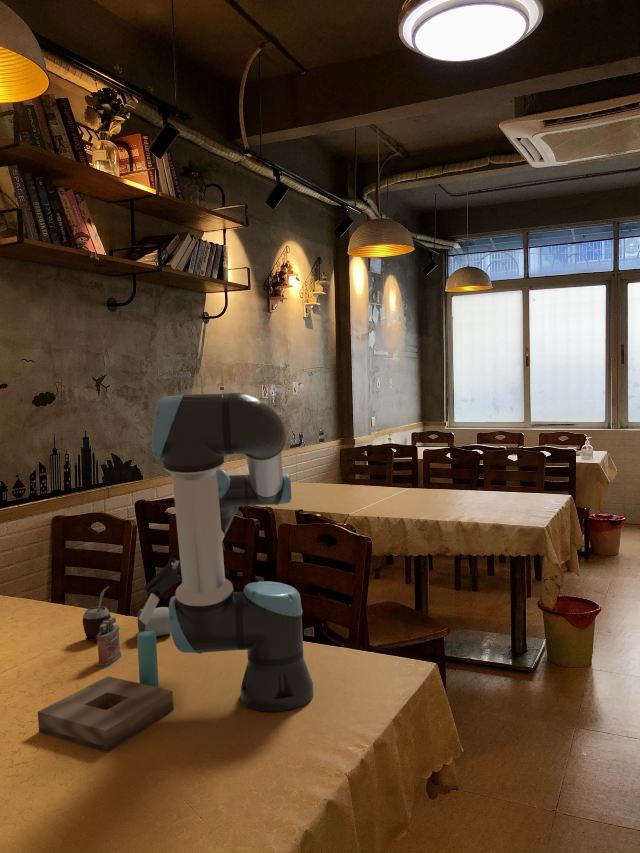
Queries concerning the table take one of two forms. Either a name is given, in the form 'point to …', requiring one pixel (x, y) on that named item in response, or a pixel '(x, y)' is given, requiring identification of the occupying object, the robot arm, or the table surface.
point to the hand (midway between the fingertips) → (165, 625)
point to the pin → (147, 658)
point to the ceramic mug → (156, 622)
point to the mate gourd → (95, 619)
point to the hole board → (105, 713)
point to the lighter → (108, 643)
